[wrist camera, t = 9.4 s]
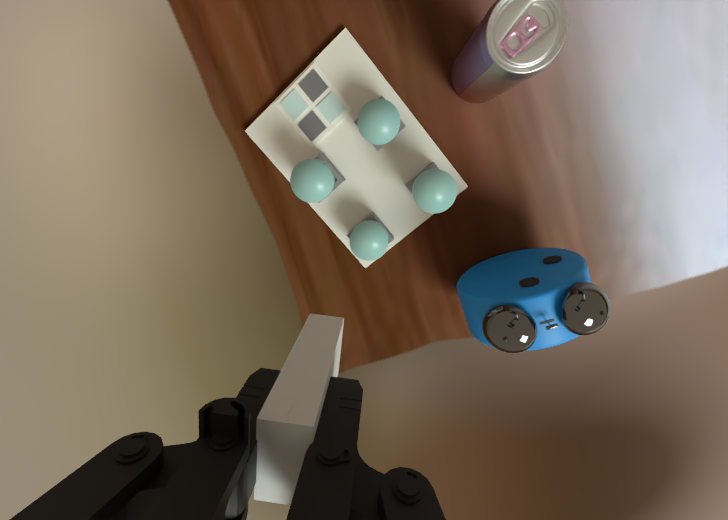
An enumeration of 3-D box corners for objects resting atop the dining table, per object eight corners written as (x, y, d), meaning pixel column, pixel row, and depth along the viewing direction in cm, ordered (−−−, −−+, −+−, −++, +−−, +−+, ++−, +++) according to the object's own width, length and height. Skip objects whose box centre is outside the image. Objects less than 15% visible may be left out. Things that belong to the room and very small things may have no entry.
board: (346, 29, 39) (342, 20, 36) (466, 185, 43) (472, 188, 40) (247, 131, 43) (236, 129, 40) (365, 266, 47) (364, 273, 44)
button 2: (320, 150, 40) (312, 149, 36) (345, 181, 40) (341, 183, 37) (291, 176, 41) (281, 178, 37) (317, 206, 41) (310, 211, 38)
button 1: (382, 95, 39) (381, 88, 36) (407, 127, 40) (409, 124, 36) (352, 122, 40) (348, 119, 37) (377, 153, 41) (376, 153, 37)
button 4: (372, 209, 43) (371, 214, 39) (395, 236, 44) (396, 244, 40) (345, 232, 44) (341, 239, 40) (368, 258, 45) (366, 268, 41)
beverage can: (439, 75, 40) (466, 31, 25) (481, 31, 38) (535, -43, 24) (474, 116, 40) (519, 95, 26) (517, 74, 39) (589, 28, 25)
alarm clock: (459, 309, 47) (489, 377, 33) (446, 267, 46) (472, 319, 32) (561, 280, 45) (639, 339, 31) (551, 235, 44) (629, 276, 29)
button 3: (434, 159, 39) (439, 160, 35) (458, 190, 40) (466, 194, 36) (403, 185, 40) (404, 189, 36) (427, 215, 41) (431, 222, 37)
